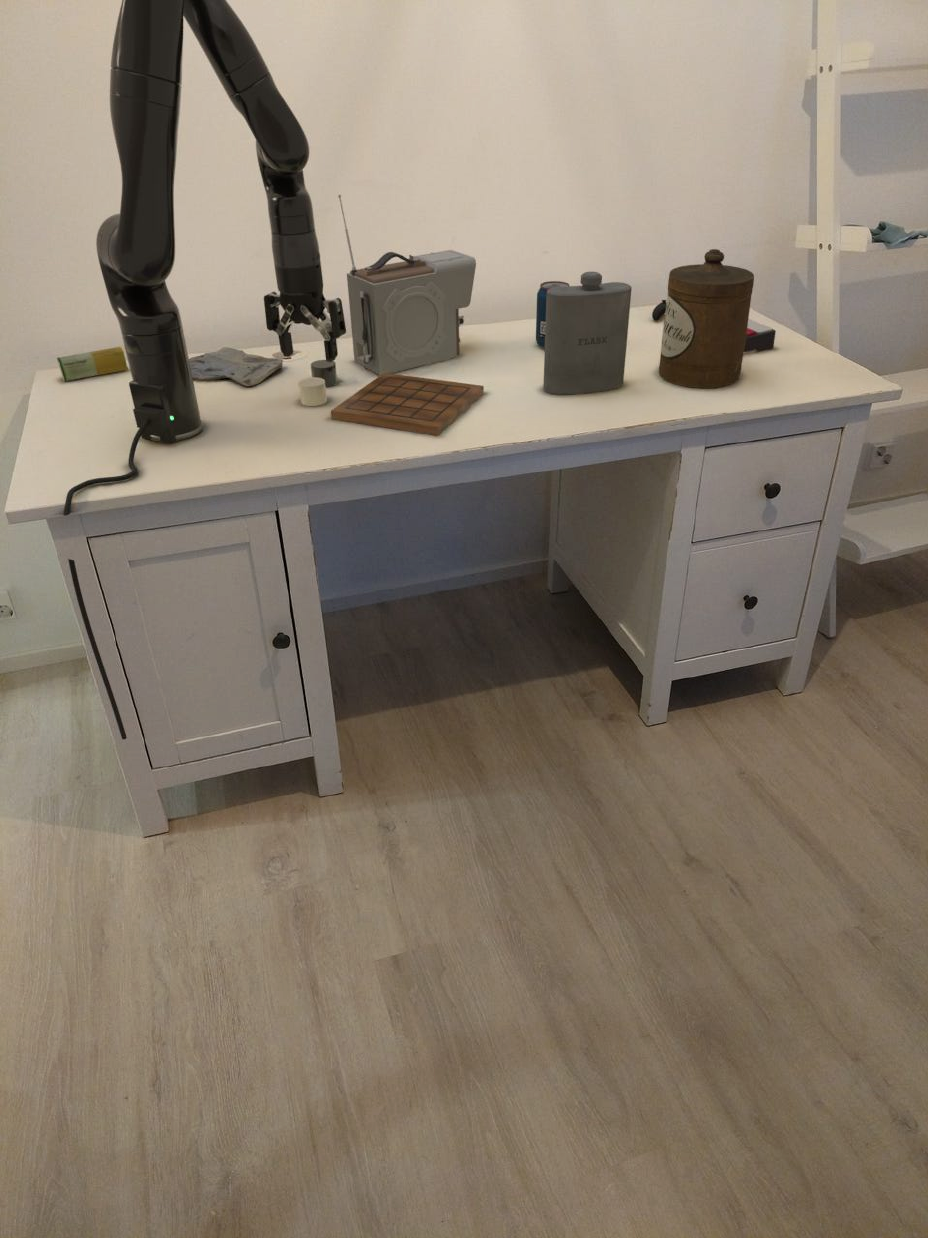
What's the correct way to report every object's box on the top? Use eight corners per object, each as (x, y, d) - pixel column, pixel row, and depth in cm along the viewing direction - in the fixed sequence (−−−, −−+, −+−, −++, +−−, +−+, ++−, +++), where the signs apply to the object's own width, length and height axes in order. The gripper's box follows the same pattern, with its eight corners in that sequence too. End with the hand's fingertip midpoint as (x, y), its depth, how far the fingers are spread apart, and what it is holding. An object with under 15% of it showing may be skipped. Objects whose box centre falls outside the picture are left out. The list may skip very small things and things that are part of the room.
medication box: (64, 382, 168) (58, 362, 166) (61, 376, 170) (55, 357, 168) (128, 369, 173) (123, 350, 170) (125, 364, 175) (120, 344, 172)
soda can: (546, 338, 185) (548, 278, 178) (575, 343, 182) (579, 283, 175) (529, 347, 181) (530, 286, 174) (558, 353, 177) (561, 291, 170)
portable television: (478, 352, 178) (477, 188, 161) (375, 377, 168) (362, 204, 150) (445, 337, 187) (441, 180, 169) (345, 360, 176) (330, 195, 159)
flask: (549, 397, 157) (553, 280, 146) (539, 386, 162) (543, 272, 151) (628, 389, 160) (639, 274, 149) (617, 378, 165) (626, 265, 153)
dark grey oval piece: (652, 318, 192) (653, 292, 193) (650, 330, 197) (651, 305, 198) (697, 319, 191) (699, 293, 192) (694, 331, 196) (695, 306, 197)
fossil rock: (290, 368, 173) (288, 356, 171) (239, 394, 162) (236, 381, 161) (221, 355, 180) (219, 343, 178) (168, 378, 169) (165, 366, 168)
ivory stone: (318, 407, 156) (316, 387, 153) (296, 404, 157) (293, 384, 155) (331, 398, 159) (329, 378, 157) (309, 395, 160) (307, 375, 158)
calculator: (680, 326, 178) (741, 312, 182) (678, 347, 180) (738, 333, 185) (714, 341, 170) (777, 326, 174) (712, 363, 172) (774, 348, 177)
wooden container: (653, 361, 172) (665, 241, 159) (730, 361, 171) (749, 240, 159) (664, 389, 160) (679, 261, 147) (747, 388, 159) (769, 259, 147)
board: (437, 435, 145) (437, 426, 144) (331, 418, 151) (330, 410, 150) (483, 393, 160) (483, 385, 159) (385, 380, 166) (384, 372, 165)
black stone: (329, 388, 163) (327, 369, 161) (308, 385, 165) (305, 366, 163) (342, 380, 167) (340, 361, 165) (320, 377, 168) (318, 358, 166)
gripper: (247, 262, 144) (263, 360, 153) (323, 268, 139) (335, 369, 149) (272, 251, 150) (286, 347, 159) (346, 257, 145) (356, 355, 154)
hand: (309, 357), depth 154 cm, fingers open, 8 cm apart
